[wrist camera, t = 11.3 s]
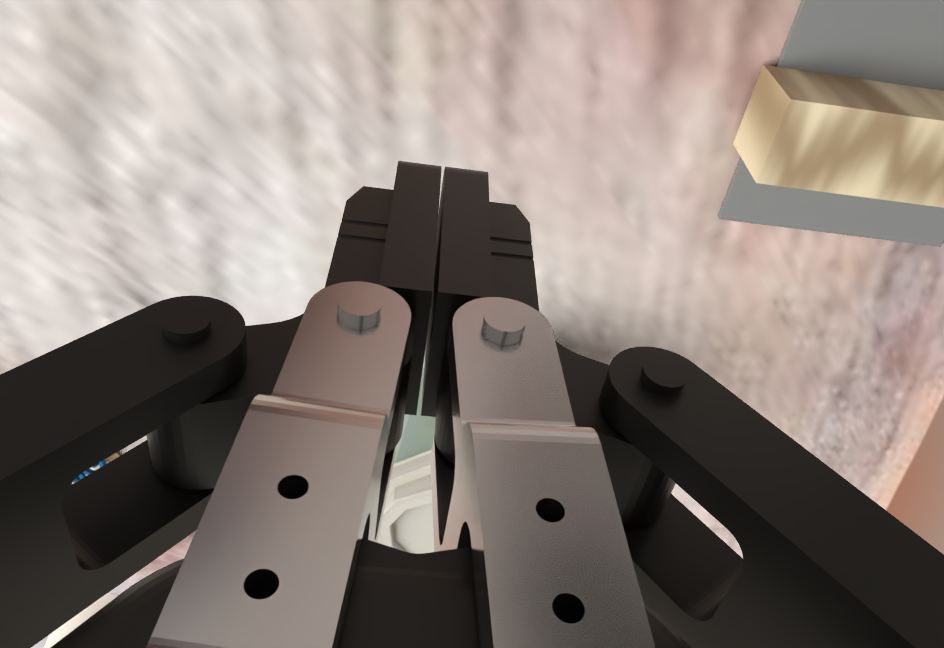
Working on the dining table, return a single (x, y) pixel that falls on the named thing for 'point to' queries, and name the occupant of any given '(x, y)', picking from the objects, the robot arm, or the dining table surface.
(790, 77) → the maple block
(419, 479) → the disposable coffee cup
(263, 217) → the dining table surface
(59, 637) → the white lidded canister
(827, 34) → the felt mat
